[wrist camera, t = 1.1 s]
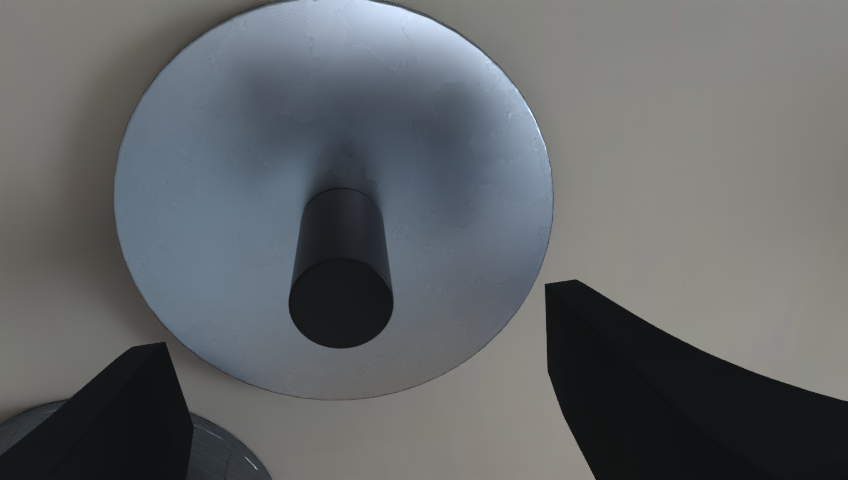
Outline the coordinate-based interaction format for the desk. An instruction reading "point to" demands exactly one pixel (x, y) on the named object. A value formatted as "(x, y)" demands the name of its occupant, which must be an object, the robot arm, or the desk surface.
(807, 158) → the desk surface
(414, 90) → the lid
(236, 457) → the tin
